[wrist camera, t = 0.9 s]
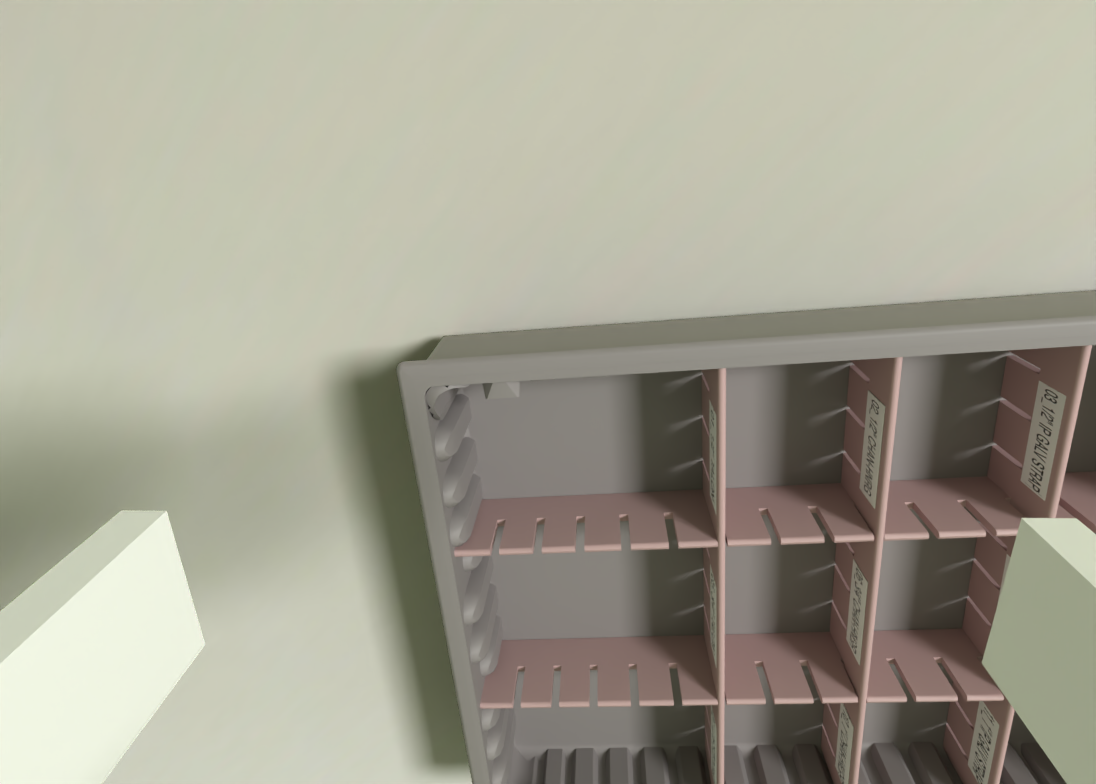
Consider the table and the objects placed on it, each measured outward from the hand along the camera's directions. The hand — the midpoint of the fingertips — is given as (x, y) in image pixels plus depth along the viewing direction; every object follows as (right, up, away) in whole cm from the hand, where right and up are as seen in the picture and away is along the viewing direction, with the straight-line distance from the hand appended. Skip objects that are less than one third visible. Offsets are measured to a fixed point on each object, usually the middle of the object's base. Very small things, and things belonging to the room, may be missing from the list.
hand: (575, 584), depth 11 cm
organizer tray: (+14, -6, +31) cm, 35 cm away
